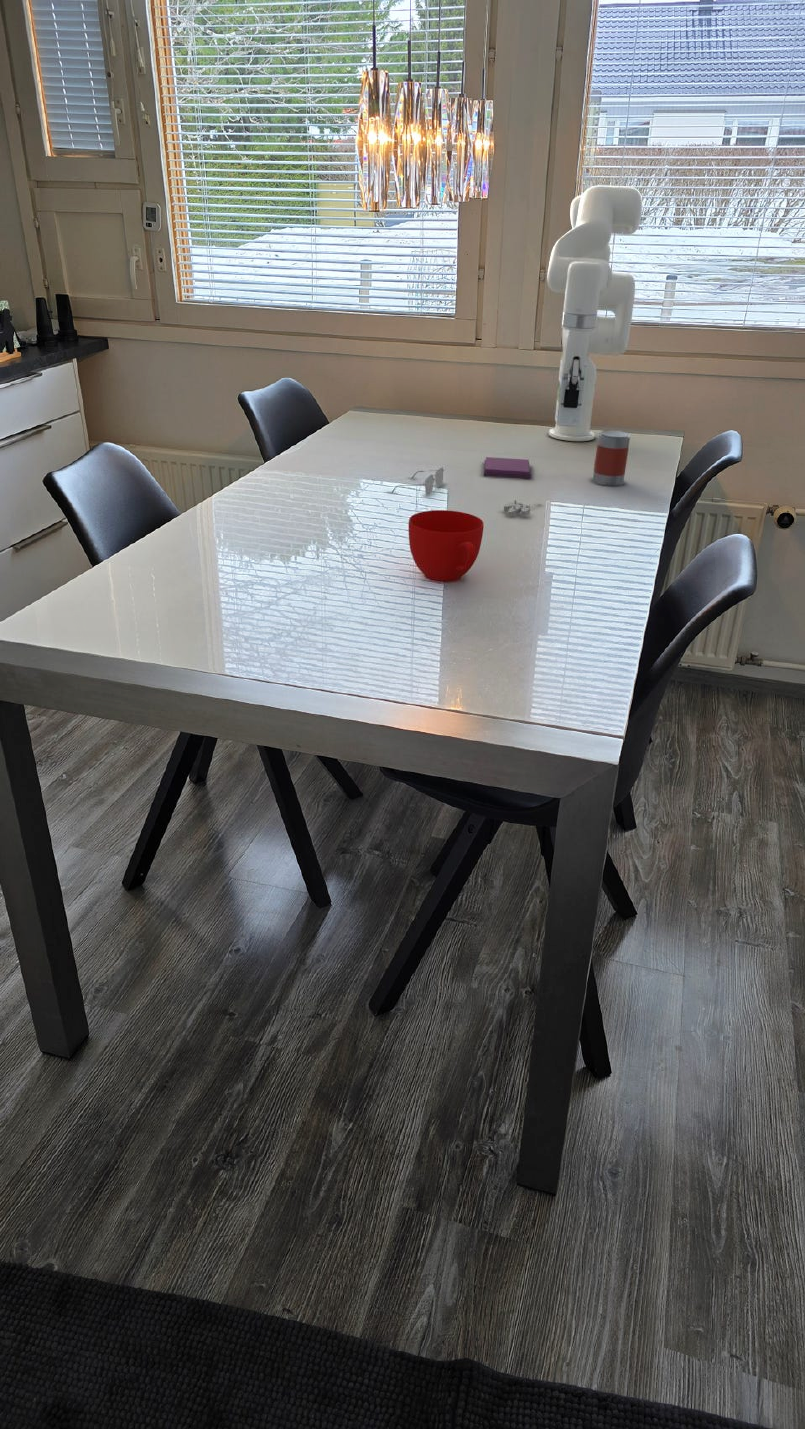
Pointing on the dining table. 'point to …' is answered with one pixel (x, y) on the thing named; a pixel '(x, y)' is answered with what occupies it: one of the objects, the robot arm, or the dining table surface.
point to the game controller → (517, 508)
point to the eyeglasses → (430, 481)
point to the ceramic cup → (444, 543)
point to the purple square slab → (507, 467)
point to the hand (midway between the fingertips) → (569, 404)
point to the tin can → (611, 458)
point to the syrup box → (562, 414)
